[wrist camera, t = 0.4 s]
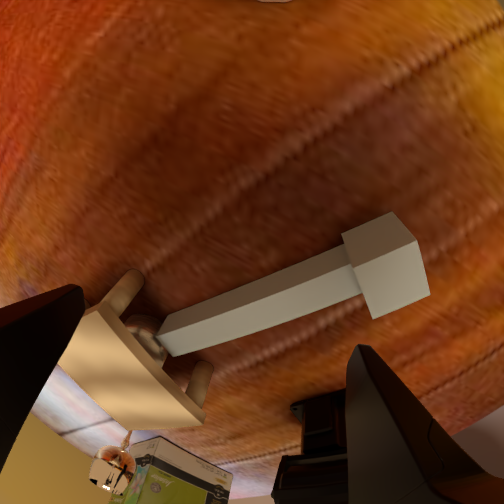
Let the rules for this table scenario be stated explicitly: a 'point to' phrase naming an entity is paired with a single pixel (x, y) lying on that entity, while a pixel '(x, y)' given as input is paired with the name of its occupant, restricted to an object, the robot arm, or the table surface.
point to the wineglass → (114, 468)
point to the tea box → (173, 477)
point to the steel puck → (147, 335)
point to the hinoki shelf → (130, 368)
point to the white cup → (274, 0)
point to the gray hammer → (309, 288)
